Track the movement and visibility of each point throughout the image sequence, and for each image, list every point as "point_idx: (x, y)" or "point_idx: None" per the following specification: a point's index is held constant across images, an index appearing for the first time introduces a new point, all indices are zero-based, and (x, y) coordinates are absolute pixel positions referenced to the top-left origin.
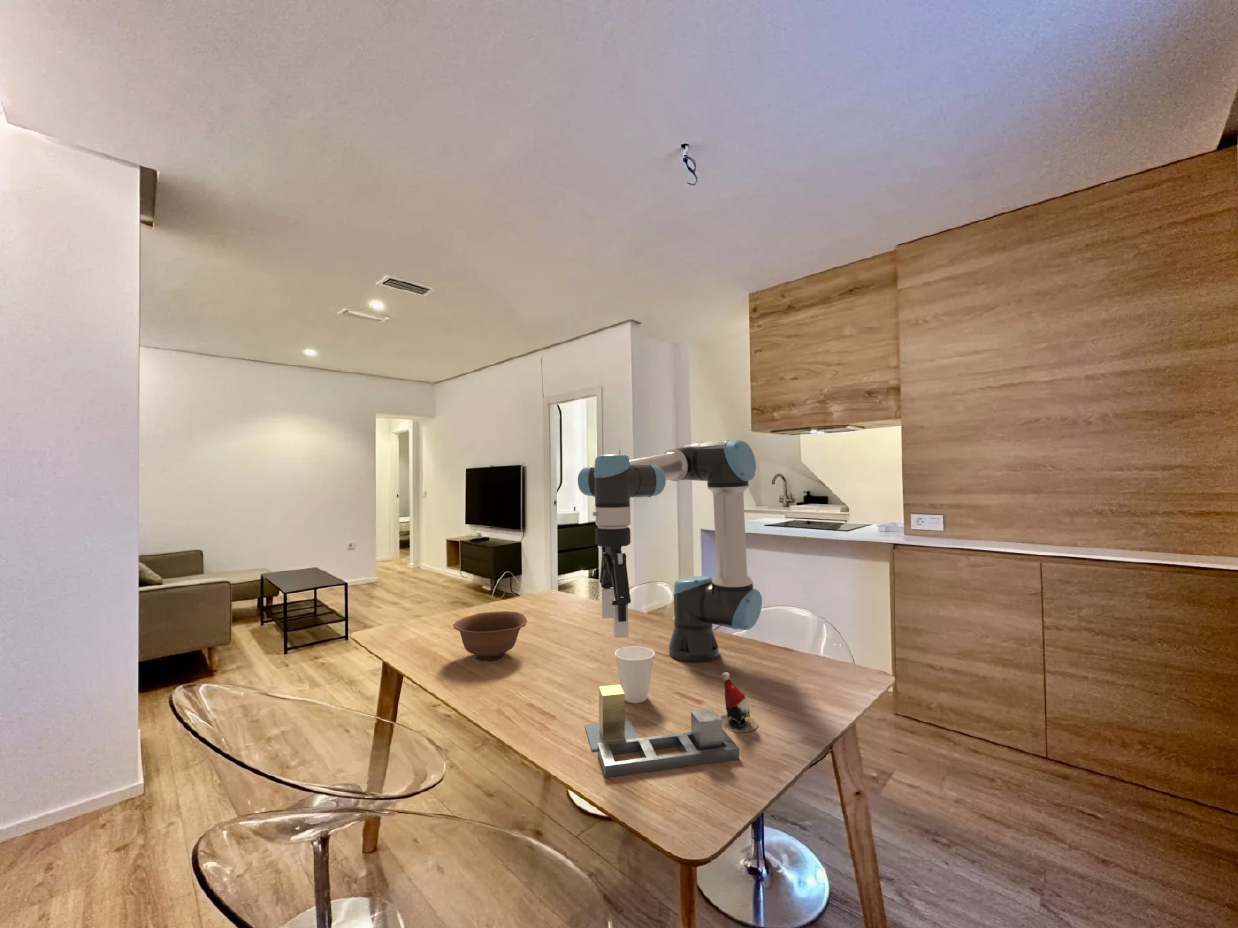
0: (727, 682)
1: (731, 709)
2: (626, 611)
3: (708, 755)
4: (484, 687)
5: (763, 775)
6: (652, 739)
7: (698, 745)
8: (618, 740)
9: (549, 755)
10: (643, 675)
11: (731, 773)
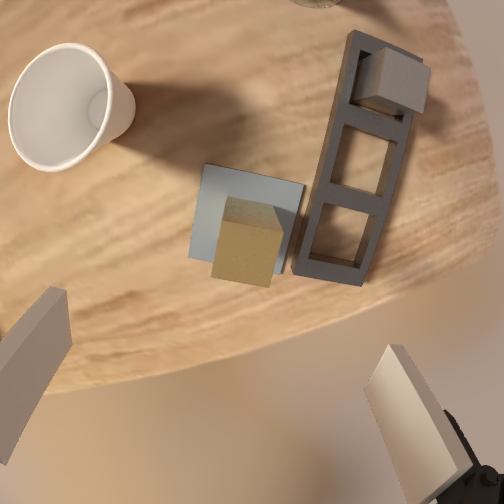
0: None
1: None
2: (449, 437)
3: None
4: None
5: (454, 68)
6: (330, 173)
7: (392, 112)
8: None
9: (258, 333)
10: (122, 97)
11: (436, 101)
